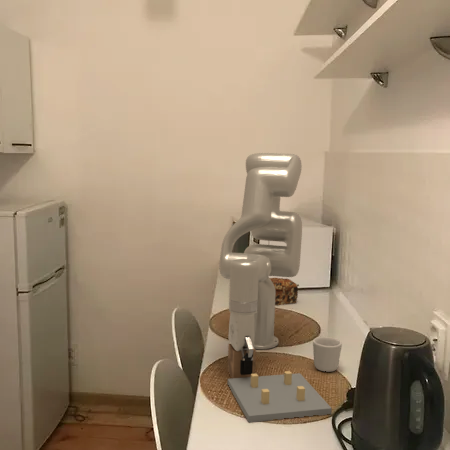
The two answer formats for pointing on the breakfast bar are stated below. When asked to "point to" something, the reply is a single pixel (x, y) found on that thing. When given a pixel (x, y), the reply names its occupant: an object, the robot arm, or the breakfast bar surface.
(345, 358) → the breakfast bar surface
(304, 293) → the breakfast bar surface
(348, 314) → the breakfast bar surface
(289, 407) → the base board
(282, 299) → the bread
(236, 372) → the walnut block
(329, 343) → the cup
